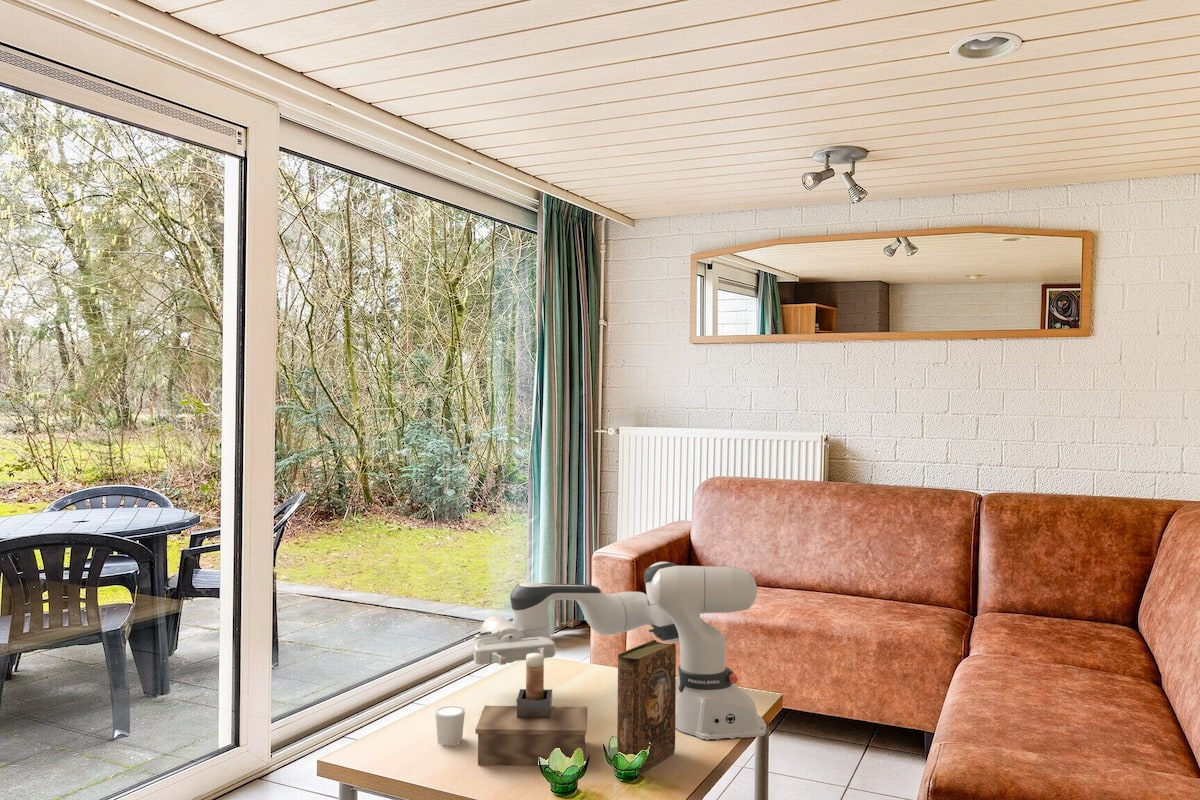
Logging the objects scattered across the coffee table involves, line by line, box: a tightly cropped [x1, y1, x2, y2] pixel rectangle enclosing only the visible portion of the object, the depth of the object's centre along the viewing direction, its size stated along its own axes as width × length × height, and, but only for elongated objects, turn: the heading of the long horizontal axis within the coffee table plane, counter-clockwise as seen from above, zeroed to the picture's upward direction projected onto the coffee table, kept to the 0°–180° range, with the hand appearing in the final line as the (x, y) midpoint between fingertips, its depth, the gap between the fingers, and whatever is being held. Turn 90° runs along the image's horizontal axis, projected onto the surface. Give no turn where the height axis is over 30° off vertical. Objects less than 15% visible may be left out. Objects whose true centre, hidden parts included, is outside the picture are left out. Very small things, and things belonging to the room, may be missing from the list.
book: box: [616, 639, 677, 776], centre depth 190 cm, size 16×6×25 cm, turn 144°
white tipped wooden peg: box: [525, 653, 545, 699], centre depth 198 cm, size 4×4×13 cm
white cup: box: [434, 705, 466, 746], centre depth 202 cm, size 7×7×7 cm
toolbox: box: [475, 688, 588, 767], centre depth 195 cm, size 24×14×12 cm, turn 90°
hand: (522, 659), depth 207 cm, fingers open, 8 cm apart
